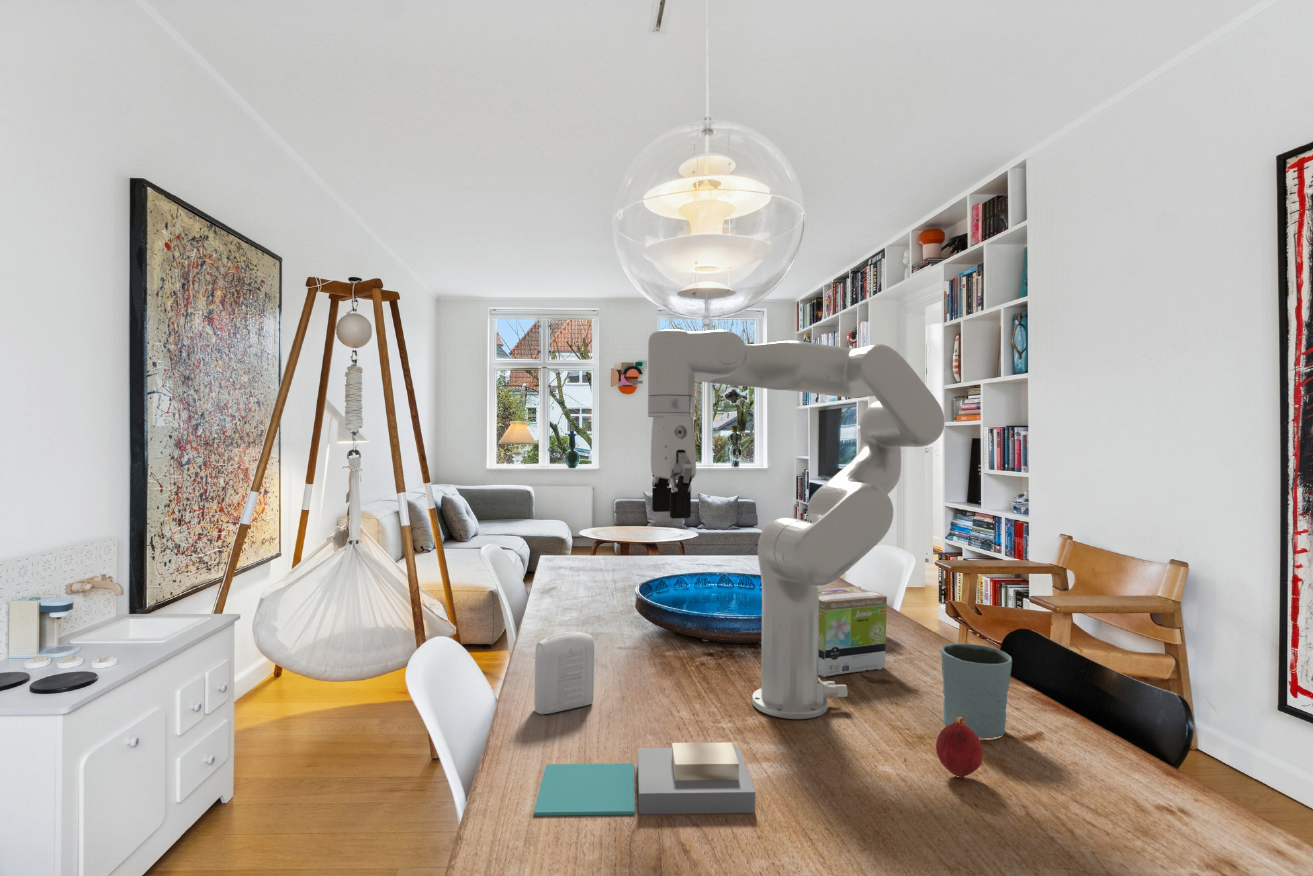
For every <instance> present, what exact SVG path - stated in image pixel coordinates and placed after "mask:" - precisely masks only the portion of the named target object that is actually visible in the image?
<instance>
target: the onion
mask: <svg viewBox="0 0 1313 876" xmlns="http://www.w3.org/2000/svg"><path fill="white" fill-rule="evenodd" d="M935 742H936V743H935V750H936V755H937V757H938V760H939V762H940V764H941V765H942V766H943V767H944V768H945V769H946V770H947V771H948V772H949V773H951V774H952V775H953V776H955V775H956V776H959V777H963V778H964V776H965V777H966V776H968V775H971V774H973V773H974V772H975V771H977V770H978V769H979V768H980V767H981V765H982V764H983V763H982V762H983V759H984V747H983V745H982V742H981V740H979V738H978V737H977V735H976V734H975V733H974V731H973V730H972V729H970V728H969V727H968V726H966V725H965V719H963V718H962V717H961V716H960V717H957V718H956V720H955V722H954V723H953V724H951V725H948V726H945V727H944V728H943V729H942V730H941V731H940V733H939V734H938V736H937V738H936V741H935ZM956 776H955V777H956Z"/></svg>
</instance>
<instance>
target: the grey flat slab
mask: <svg viewBox="0 0 1313 876" xmlns="http://www.w3.org/2000/svg"><path fill="white" fill-rule="evenodd" d="M733 747H734V750H735V753H736V756H737V759H738V762H739V780H675V777H674V770H673V762H672V747H637V786H638V787H637V788H638V789H637V790H638V791H637V792H638V793H637V794H638V796H637V798H638V815H691V814H692V815H694V814H695V815H696V814H697V815H698V814H753V813H754V814H756V790H755V788H754V785H753V781H752V779H751V776H750V773H749V771H748V768H747V765H746V761H745V758H744V756H743V753H742V751H741V748H740V747H738V746H733Z"/></svg>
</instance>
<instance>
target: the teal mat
mask: <svg viewBox="0 0 1313 876" xmlns="http://www.w3.org/2000/svg"><path fill="white" fill-rule="evenodd" d="M635 797H636V796H635V763H634V762H633V763H629V762H628V763H627V762H626V763H555V764H554V763H552V764H551V763H547V764H545V768H544V770H543V775H542V780H541V783H540V787H539V791H538V795H537V799H536V803H535V807H534V811H533V816H537V817H538V816H539V817H541V816H543V817H544V816H545V817H546V816H550V817H551V816H552V817H553V816H603V815H604V816H607V815H608V816H609V815H612V816H615V815H616V816H617V815H618V816H619V815H622V816H623V815H627V816H628V815H635V814H636V811H635V810H636V808H635V807H636V806H635V805H636V804H635V800H636V799H635Z"/></svg>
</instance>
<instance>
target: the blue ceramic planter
mask: <svg viewBox="0 0 1313 876" xmlns="http://www.w3.org/2000/svg"><path fill="white" fill-rule="evenodd" d="M940 653H941V655H940V656H941V672H942V673H941V674H942V680H943V683H942V684H943V688H942V693H943V697H944V698H943V723H944V726H945V725H946V726H948V725H951V724H953V723H954V722H955V720H956V718H957V717H960V716H961V717H962V718H963V719H965V725H966V726H968V727H969V728H970V729H972V730H973V731H974V733H975V734H976V735H977V737H978V738H979V737H980V738H994V737H999V736H1002V735H1003V734H1004V735H1005V733H1006V732H1005V730H1006V721H1007V714H1006V713H1007V704H1008V692H1009V690H1010V689H1009V688H1010V679H1011V673H1012V667H1013V666H1012V664H1013V659H1012V656H1011V655H1009V654H1008V653H1007V652H1006V651H1003V650H1000V649H998V648H995V647H991V646H986V645H981V644H974V643H965V642H963V643H961V642H958V643H957V642H956V643H949V644H945V645H943V646H942V647H941V648H940ZM946 726H945V727H946Z"/></svg>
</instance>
